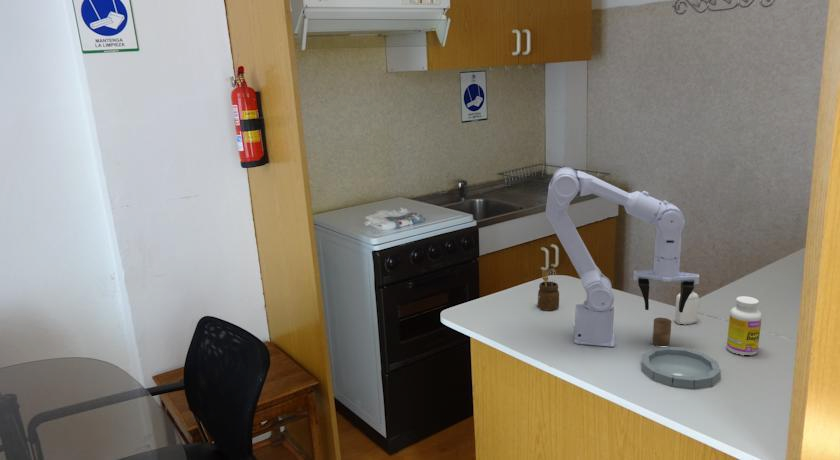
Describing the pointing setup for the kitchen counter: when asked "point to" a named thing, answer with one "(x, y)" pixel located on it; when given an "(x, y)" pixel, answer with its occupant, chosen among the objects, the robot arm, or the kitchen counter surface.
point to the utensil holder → (548, 294)
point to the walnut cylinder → (661, 331)
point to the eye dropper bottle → (687, 310)
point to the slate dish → (680, 367)
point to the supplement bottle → (744, 326)
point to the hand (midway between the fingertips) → (663, 309)
